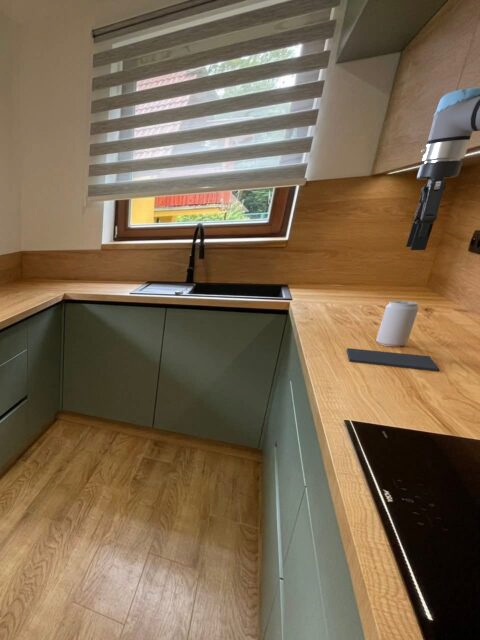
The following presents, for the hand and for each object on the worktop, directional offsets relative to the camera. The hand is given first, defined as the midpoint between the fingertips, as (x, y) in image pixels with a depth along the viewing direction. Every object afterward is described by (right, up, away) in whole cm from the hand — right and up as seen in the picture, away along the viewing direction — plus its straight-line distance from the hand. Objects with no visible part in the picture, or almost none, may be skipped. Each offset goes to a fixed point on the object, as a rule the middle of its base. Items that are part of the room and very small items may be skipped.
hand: (414, 248), depth 116 cm
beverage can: (-2, -26, +5) cm, 27 cm away
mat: (-15, -31, -8) cm, 35 cm away
